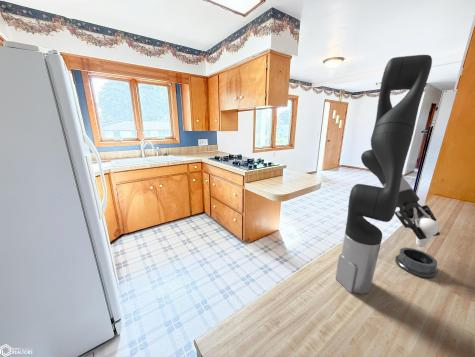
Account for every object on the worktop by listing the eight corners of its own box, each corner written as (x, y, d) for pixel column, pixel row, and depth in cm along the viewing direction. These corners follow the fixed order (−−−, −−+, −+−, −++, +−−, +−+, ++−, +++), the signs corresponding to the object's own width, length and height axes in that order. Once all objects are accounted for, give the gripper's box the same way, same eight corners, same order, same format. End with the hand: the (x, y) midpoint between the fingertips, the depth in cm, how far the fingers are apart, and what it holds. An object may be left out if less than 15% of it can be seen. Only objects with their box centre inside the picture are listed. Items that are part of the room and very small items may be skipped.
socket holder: (422, 281, 62) (425, 270, 60) (387, 259, 72) (390, 249, 70) (444, 274, 64) (448, 263, 63) (408, 254, 75) (411, 244, 73)
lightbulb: (437, 253, 63) (447, 224, 59) (415, 251, 64) (424, 222, 61) (423, 242, 68) (432, 215, 65) (404, 240, 70) (411, 213, 66)
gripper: (394, 190, 66) (426, 238, 58) (423, 185, 69) (457, 230, 62) (377, 198, 72) (404, 243, 64) (404, 194, 76) (432, 236, 68)
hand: (429, 237), depth 63 cm, fingers closed on lightbulb, 6 cm apart
